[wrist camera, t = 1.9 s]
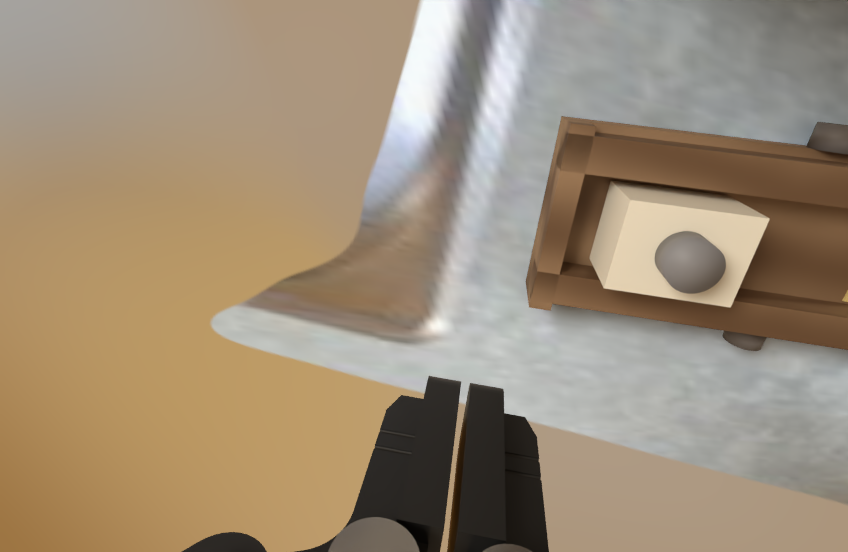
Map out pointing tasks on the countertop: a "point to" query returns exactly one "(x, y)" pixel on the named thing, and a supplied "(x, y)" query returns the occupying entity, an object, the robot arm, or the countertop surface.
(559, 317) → the countertop surface
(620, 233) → the rider
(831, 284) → the wooden slider track
